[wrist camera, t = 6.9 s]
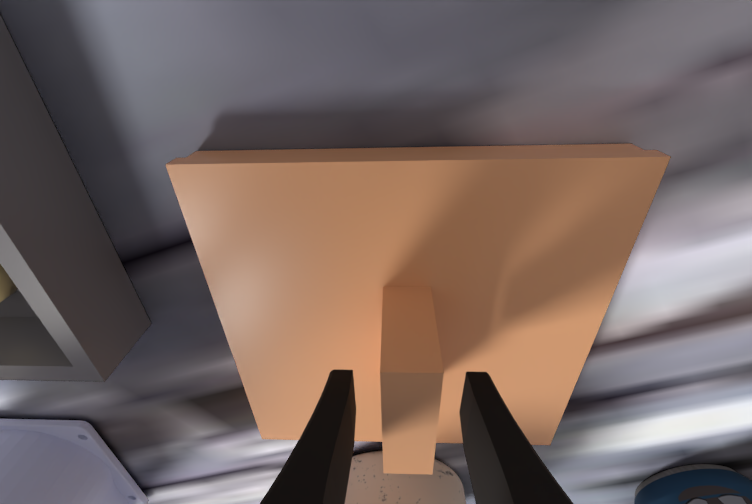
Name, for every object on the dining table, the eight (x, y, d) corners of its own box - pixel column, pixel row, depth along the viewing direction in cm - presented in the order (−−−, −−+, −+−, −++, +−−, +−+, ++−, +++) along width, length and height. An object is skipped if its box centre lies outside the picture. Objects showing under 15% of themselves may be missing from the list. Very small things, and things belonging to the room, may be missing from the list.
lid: (538, 413, 18) (584, 535, 14) (271, 408, 19) (235, 524, 14) (635, 139, 11) (799, 217, 6) (192, 147, 11) (70, 223, 7)
